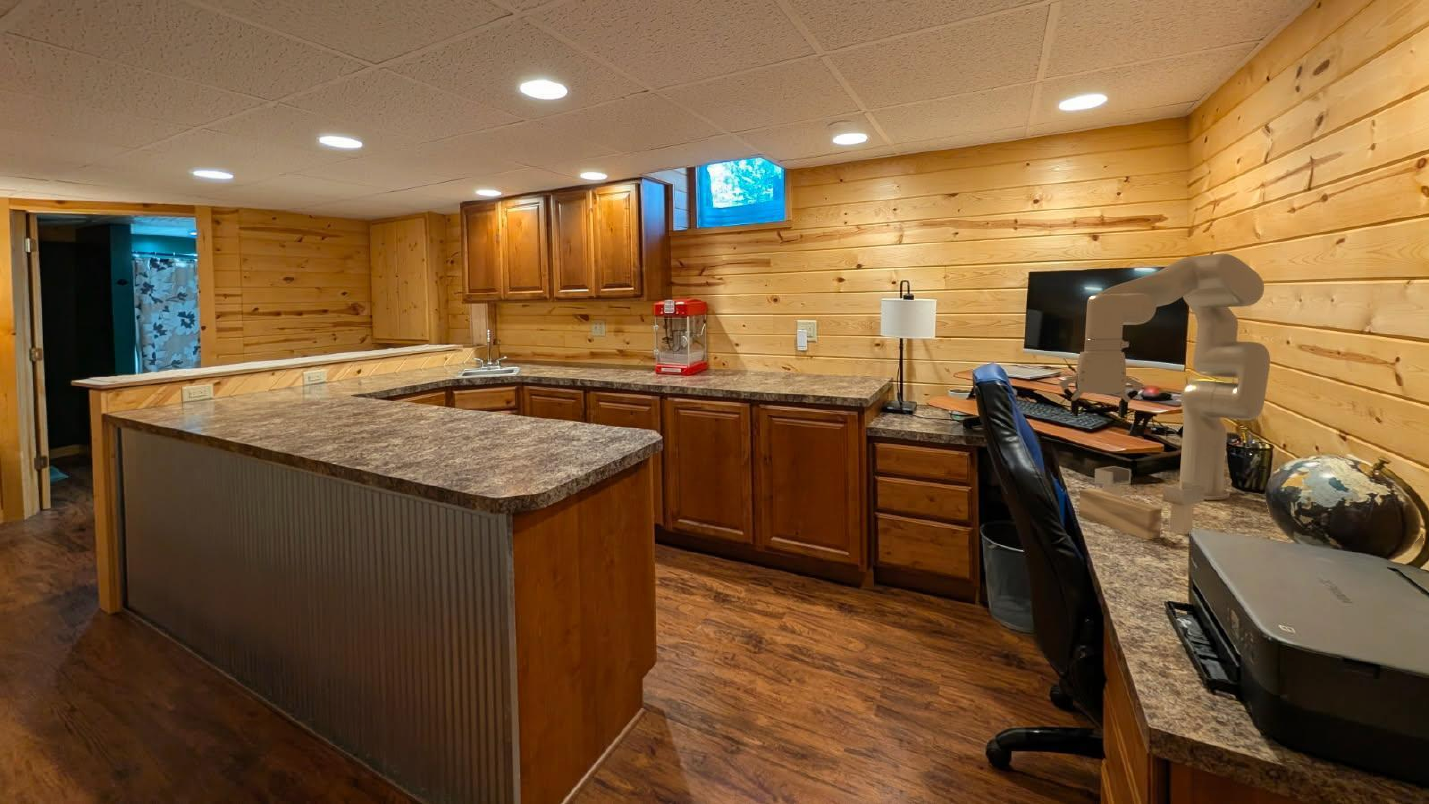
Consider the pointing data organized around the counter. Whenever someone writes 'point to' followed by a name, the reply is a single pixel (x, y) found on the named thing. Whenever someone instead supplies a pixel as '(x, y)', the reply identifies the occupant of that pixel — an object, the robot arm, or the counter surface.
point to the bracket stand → (1179, 498)
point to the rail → (1120, 513)
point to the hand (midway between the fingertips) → (1098, 416)
